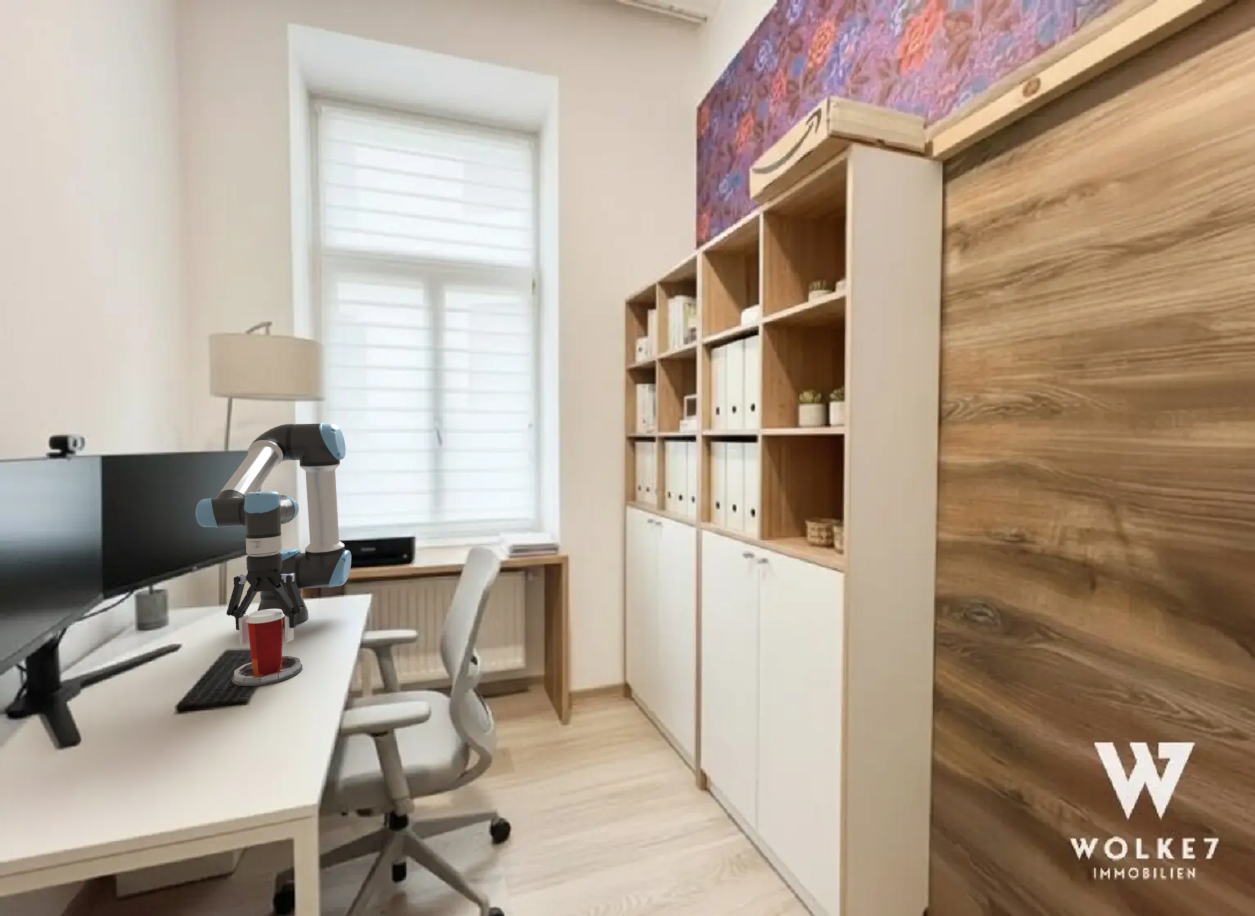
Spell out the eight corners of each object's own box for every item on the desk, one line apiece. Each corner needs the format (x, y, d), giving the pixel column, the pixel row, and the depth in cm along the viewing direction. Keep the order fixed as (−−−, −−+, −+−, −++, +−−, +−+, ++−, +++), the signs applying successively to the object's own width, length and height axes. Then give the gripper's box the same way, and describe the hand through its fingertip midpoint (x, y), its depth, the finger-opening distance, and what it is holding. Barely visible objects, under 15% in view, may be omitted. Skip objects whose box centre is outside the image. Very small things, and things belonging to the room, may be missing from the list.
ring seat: (254, 664, 152) (254, 656, 152) (313, 661, 153) (313, 654, 153) (217, 688, 137) (217, 680, 137) (283, 685, 138) (283, 677, 138)
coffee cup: (294, 665, 148) (291, 608, 148) (271, 679, 140) (268, 617, 140) (263, 665, 149) (261, 607, 149) (239, 678, 141) (236, 617, 141)
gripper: (206, 557, 139) (209, 648, 140) (304, 555, 141) (306, 644, 142) (225, 552, 147) (228, 638, 147) (318, 549, 148) (321, 634, 149)
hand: (267, 641), depth 144 cm, fingers open, 10 cm apart
